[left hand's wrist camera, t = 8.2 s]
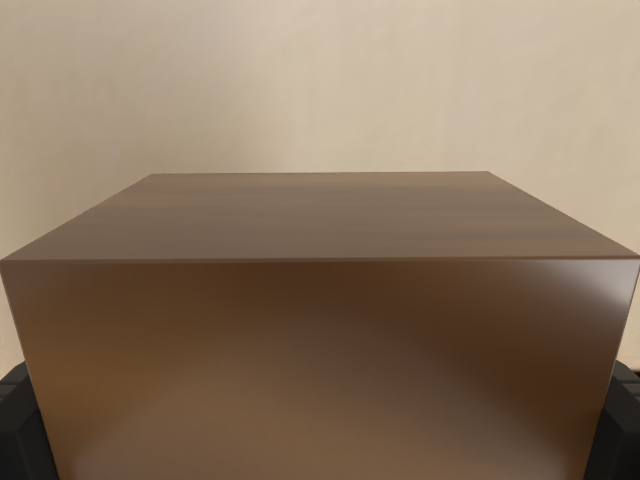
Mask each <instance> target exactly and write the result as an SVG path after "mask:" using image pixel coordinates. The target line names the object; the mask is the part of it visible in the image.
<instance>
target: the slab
mask: <svg viewBox="0 0 640 480" xmlns="http://www.w3.org/2000/svg"><path fill="white" fill-rule="evenodd" d="M639 272H640V255H638V254H637V253H635V252H633V251H631V250H629V249H628V248H626V247H624V246H622V245H620V244H619V243H617V242H615V241H613V240H611V239H609V238H608V237H606V236H604V235H602V234H600V233H599V232H597V231H595V230H593V229H591V228H589V227H588V226H586V225H584V224H582V223H580V222H579V221H577V220H575V219H573V218H571V217H570V216H568V215H566V214H564V213H562V212H560V211H559V210H557V209H555V208H553V207H551V206H550V205H548V204H546V203H544V202H542V201H540V200H539V199H537V198H535V197H533V196H531V195H530V194H528V193H526V192H524V191H522V190H521V189H519V188H517V187H515V186H513V185H511V184H510V183H508V182H506V181H504V180H502V179H501V178H499V177H497V176H495V175H493V174H492V173H490V172H488V171H483V172H349V173H215V174H151V175H149V176H147V177H146V178H144V179H142V180H140V181H139V182H137V183H135V184H133V185H132V186H130V187H128V188H126V189H125V190H123V191H121V192H119V193H117V194H116V195H114V196H112V197H110V198H109V199H107V200H105V201H103V202H102V203H100V204H98V205H96V206H95V207H93V208H91V209H89V210H88V211H86V212H84V213H82V214H81V215H79V216H77V217H75V218H73V219H72V220H70V221H68V222H66V223H65V224H63V225H61V226H59V227H58V228H56V229H54V230H52V231H51V232H49V233H47V234H45V235H44V236H42V237H40V238H38V239H37V240H35V241H33V242H31V243H29V244H28V245H26V246H24V247H22V248H21V249H19V250H17V251H15V252H14V253H12V254H10V255H8V256H7V257H5V258H3V259H1V260H0V274H1V278H2V281H3V285H4V288H5V292H6V295H7V299H8V302H9V306H10V309H11V313H12V316H13V320H14V323H15V327H16V330H17V334H18V337H19V340H20V344H21V347H22V351H23V354H24V358H25V361H26V365H27V368H28V372H29V375H30V379H31V382H32V386H33V389H34V393H35V396H36V400H37V403H38V407H39V410H40V414H41V417H42V421H43V424H44V428H45V431H46V435H47V438H48V442H49V445H50V449H51V452H52V456H53V459H54V463H55V466H56V470H57V473H58V477H59V480H583V478H584V475H585V471H586V468H587V464H588V460H589V457H590V453H591V449H592V446H593V442H594V438H595V435H596V431H597V428H598V424H599V420H600V417H601V413H602V409H603V406H604V402H605V399H606V395H607V391H608V387H609V384H610V380H611V376H612V373H613V369H614V365H615V361H616V358H617V354H618V350H619V347H620V343H621V339H622V336H623V332H624V328H625V324H626V321H627V317H628V313H629V310H630V306H631V302H632V298H633V295H634V291H635V287H636V284H637V280H638V276H639Z"/></svg>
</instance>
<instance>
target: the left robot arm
mask: <svg viewBox="0 0 640 480" xmlns="http://www.w3.org/2000/svg"><path fill="white" fill-rule="evenodd" d="M0 480H59V477H58V473H57V470H56V466H55V463H54V459H53V456H52V452H51V449H50V445H49V442H48V438H47V435H46V431H45V428H44V424H43V421H42V417H41V414H40V410H39V407H38V403H37V400H36V396H35V393H34V389H33V386H32V382H31V379H30V375H29V372H28V368H27V365H26V361H24V362H22V363H21V364H19V365H17V366H15V367H14V368H13V369H12V370H11V371H10V372H9V373H8V374H7V375H6V376H5V377H4V378H3V379H2V380H0ZM583 480H640V378H639V377H638V376H637V375H636V374H635V373H633V372H632V371H631V370H630V369H629V368H628V367H627V366H626V365H624V364H623V363H621V362H619V361H618V360H616V361H615V365H614V369H613V373H612V376H611V380H610V384H609V387H608V391H607V395H606V399H605V402H604V406H603V409H602V413H601V417H600V420H599V424H598V428H597V431H596V435H595V438H594V442H593V446H592V449H591V453H590V457H589V460H588V464H587V468H586V471H585V475H584V478H583Z"/></svg>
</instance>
